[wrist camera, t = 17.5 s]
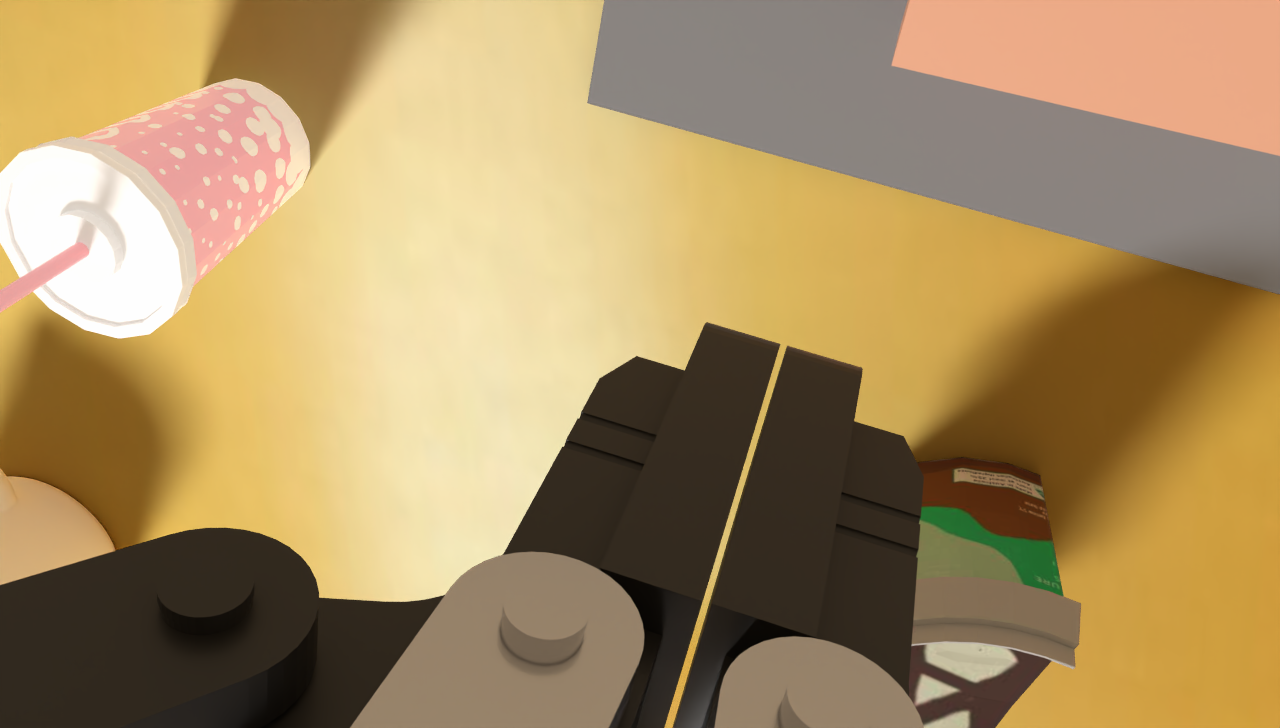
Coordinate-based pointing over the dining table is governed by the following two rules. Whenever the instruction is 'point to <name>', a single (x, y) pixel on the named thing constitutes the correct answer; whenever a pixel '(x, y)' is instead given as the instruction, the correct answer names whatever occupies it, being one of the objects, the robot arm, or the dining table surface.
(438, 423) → the dining table surface
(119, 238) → the beverage cup
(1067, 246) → the dining table surface
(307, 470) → the dining table surface
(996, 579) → the food container
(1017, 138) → the mat
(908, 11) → the block
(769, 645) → the robot arm
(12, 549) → the mug
